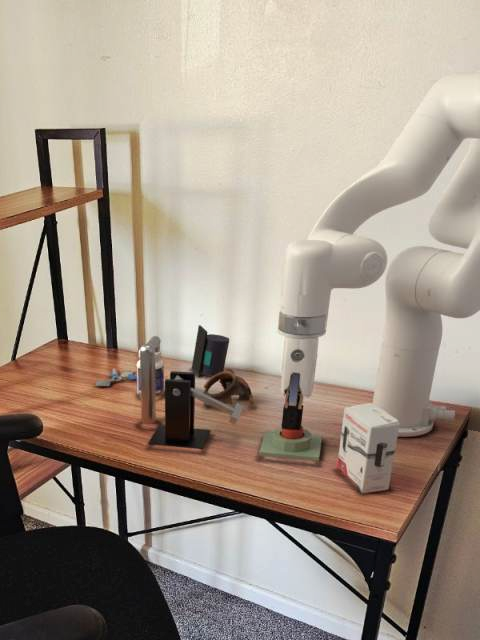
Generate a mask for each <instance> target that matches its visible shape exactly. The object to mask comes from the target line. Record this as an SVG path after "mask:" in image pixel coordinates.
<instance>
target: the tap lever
mask: <svg viewBox="0 0 480 640" xmlns="http://www.w3.org/2000/svg"><path fill="white" fill-rule="evenodd" d="M174 380H186V379H184V378H182V377H180V376H178V375H177V376H176V378H175V379H174ZM191 396H193V397H195V399H197V400H199V401H201V402H203V403H204V402H205V403H207V404H209V405H211V406H210V407H213V408H215V409H217V410H219V411H221V412H223V413H225V414H228V415H229V419H228V423H230V424H232V425H233V426H236V424H237V422H238V421H239V418H240V416H241V413H242V410H243V408H244V405H242V404H241V403H239V402H236V403H235V405H234V407H232V406H230V405H229V404H224V403H222V402H220V401H218V400H216V399H214V398H212V397H210V396H208V395H206V394H204V393H203V392H202V391H200V390H197V389H196V388H195V389H193V388H191Z"/></svg>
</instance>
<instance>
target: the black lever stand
mask: <svg viewBox="0 0 480 640" xmlns="http://www.w3.org/2000/svg"><path fill="white" fill-rule="evenodd" d="M177 375H178V376H180V377H182V378H184V379H186V380H174V379H175V378H176V376H177ZM191 388H193V389H195V390H196V374H195V373H194V372H193V371H174V370H171V371H170V372H169V378H166V379H164V425H158V427H157V428H156V430H155V431H154V433H153V434H152V436H151V438H150V439H149V441H148V445H151V446H153V445H154V446H163V447H173V448H186V449H196V450H203V449H204V448H205V445H206V443H207V440H208V439H209V436H210V433H211V432H212V431H211V429H207V428H206V429H205V428H195V416H196V415H195V407H196V398H195V397H193V396H191Z"/></svg>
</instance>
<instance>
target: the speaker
mask: <svg viewBox="0 0 480 640" xmlns="http://www.w3.org/2000/svg"><path fill="white" fill-rule="evenodd" d="M197 327H198V328H197V332H196V340H195V345H194V352H193V357H192V363H191V372H194V373H195V376H197V378H201V374H203V375H206V376H211V377H213V376H214V375H216V374H218V373H220V372H224V371H225V365H226V362H227V361H226V359H227V355H228V350H229V346H230V338H229V337H228V336H225V335H221V334H212V333H210V334H208V333H209V332H208V331H207V329H205V328H204V327H203V326H202V325H201V324H198V326H197Z"/></svg>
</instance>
